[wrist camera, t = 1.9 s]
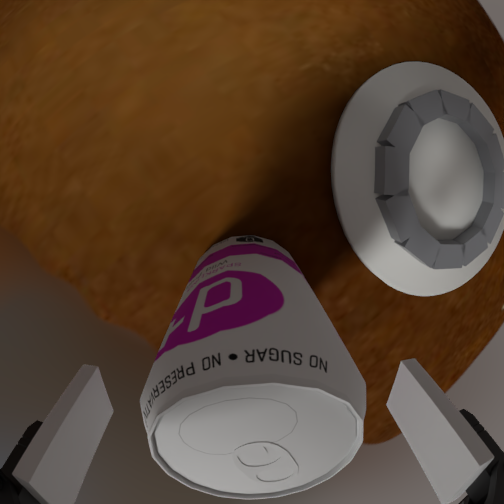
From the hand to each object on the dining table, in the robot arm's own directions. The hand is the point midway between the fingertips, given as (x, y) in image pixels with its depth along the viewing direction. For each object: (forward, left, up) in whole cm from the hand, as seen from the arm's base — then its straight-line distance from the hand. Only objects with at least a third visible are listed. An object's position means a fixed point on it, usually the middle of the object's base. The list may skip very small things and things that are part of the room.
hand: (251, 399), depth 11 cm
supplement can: (0, 0, -12) cm, 12 cm away
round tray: (-9, +16, -12) cm, 22 cm away
